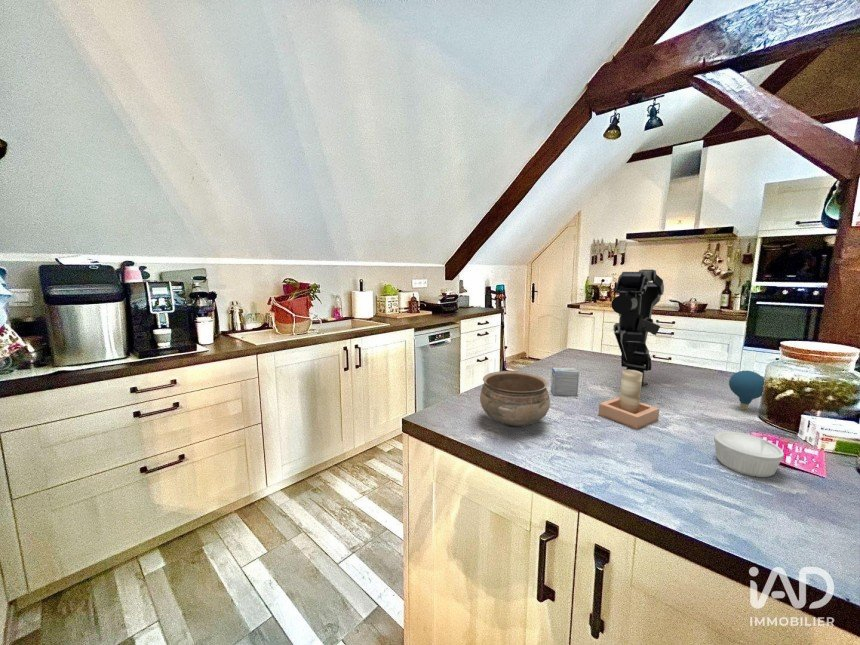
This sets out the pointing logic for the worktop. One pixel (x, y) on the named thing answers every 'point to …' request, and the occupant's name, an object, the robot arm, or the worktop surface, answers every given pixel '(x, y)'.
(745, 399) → the light bulb
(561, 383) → the medicine box
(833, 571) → the worktop surface
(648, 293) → the robot arm
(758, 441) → the ramekin
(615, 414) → the tray
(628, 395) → the vase
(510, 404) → the cooking pot
